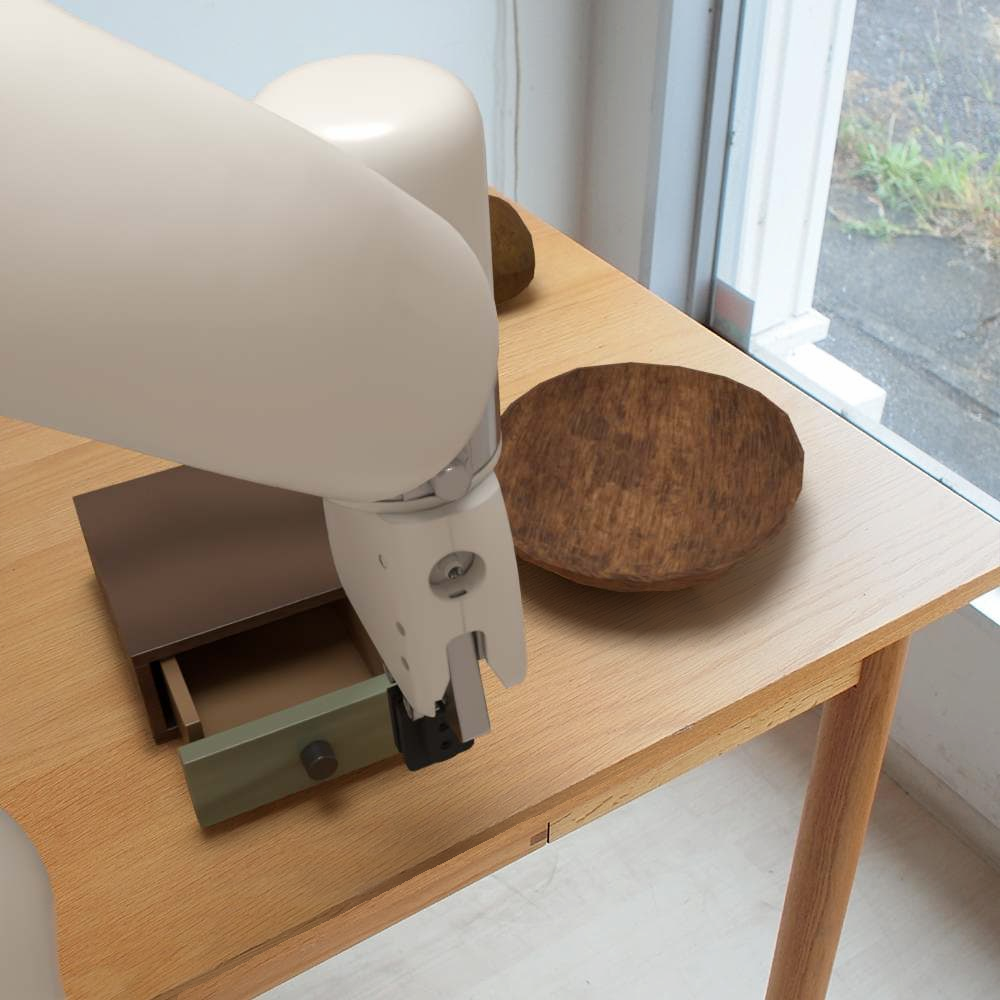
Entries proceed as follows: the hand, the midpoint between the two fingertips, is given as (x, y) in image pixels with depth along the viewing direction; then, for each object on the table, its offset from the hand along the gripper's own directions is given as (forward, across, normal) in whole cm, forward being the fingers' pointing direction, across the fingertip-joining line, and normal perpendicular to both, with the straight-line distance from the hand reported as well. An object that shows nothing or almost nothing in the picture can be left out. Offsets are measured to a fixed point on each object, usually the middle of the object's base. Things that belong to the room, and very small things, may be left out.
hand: (434, 747), depth 59 cm
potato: (+9, +48, -23) cm, 54 cm away
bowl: (+9, +18, -21) cm, 29 cm away
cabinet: (+8, +20, +4) cm, 22 cm away
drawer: (+7, +12, +4) cm, 15 cm away
